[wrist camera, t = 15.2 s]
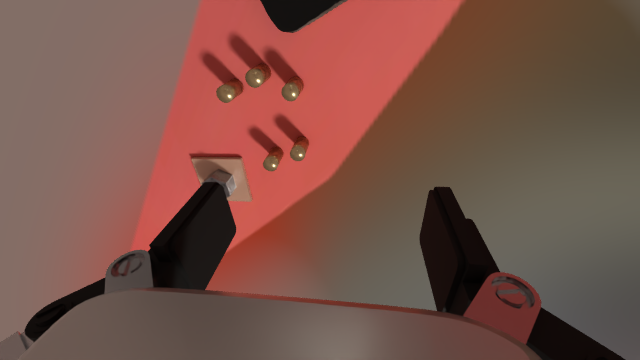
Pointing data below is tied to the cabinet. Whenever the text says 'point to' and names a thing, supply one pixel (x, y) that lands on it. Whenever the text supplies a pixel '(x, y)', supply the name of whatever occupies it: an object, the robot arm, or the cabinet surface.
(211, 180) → the steel nut
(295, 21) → the black sponge
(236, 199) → the tan tile
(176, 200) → the cabinet surface
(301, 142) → the brass standoffs
